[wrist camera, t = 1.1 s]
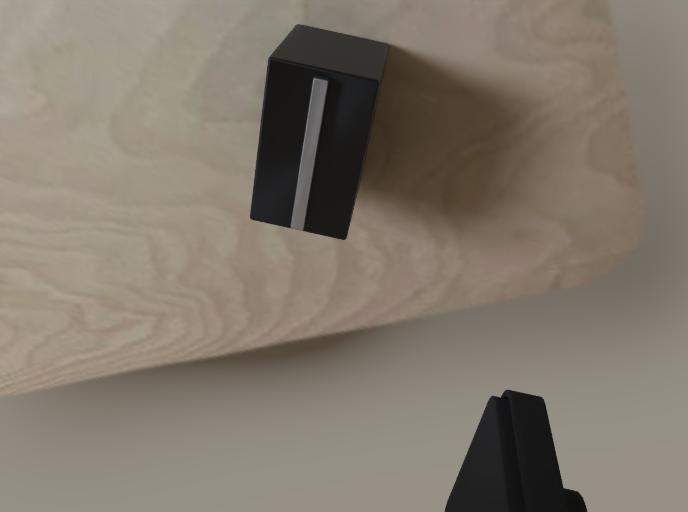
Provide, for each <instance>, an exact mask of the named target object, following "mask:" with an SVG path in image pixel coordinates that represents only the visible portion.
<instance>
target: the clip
mask: <svg viewBox="0 0 688 512" xmlns="http://www.w3.org/2000/svg"><path fill="white" fill-rule="evenodd" d="M388 50H389V45H388V44H387V43H382V42H377V41H373V40H368V39H364V38H359V37H354V36H350V35H345V34H340V33H336V32H331V31H327V30H322V29H317V28H313V27H308V26H304V25H299V24H298V25H296V26H295V27H294V28H293V30H292V31H291V32H290V33H289V34H288V36H287V37H286V38H285V39H284V40H283V41H282V43H281V44H280V45H279V46H278V47H277V49H276V50H275V51H274V52H273V53H272V55H271V56H270V57H269V59H268V66H267V75H266V83H265V92H264V100H263V109H262V118H261V126H260V135H259V144H258V152H257V161H256V169H255V178H254V187H253V195H252V204H251V213H250V219H252V220H256V221H260V222H265V223H269V224H274V225H278V226H283V227H288V228H292V229H297V230H301V231H306V232H310V233H315V234H319V235H324V236H328V237H333V238H337V239H342V240H345V239H346V238H347V234H348V230H349V226H350V222H351V218H352V214H353V210H354V206H355V202H356V198H357V193H358V189H359V185H360V181H361V176H362V171H363V167H364V162H365V157H366V153H367V148H368V143H369V139H370V134H371V129H372V125H373V120H374V115H375V111H376V106H377V101H378V96H379V92H380V87H381V82H382V78H383V73H384V68H385V64H386V59H387V54H388Z"/></svg>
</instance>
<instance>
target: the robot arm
mask: <svg viewBox="0 0 688 512" xmlns="http://www.w3.org/2000/svg"><path fill="white" fill-rule="evenodd" d="M445 512H587V508H586V505H585V502H584V500H583V497H582V496H581V495H580V494H579V492H577V491H574V490H569V489H565V488H563V484H562V479H561V475H560V470H559V465H558V461H557V456H556V452H555V447H554V442H553V438H552V433H551V428H550V424H549V419H548V415H547V410H546V405H545V402H544V399H543V398H542V397H539V396H534V395H530V394H525V393H520V392H516V391H511V390H505V391H504V393H503V394H502V396H501V398H500V397H496V396H491V398H490V399H489V401H488V403H487V406H486V408H485V410H484V413H483V416H482V418H481V420H480V423H479V425H478V428H477V430H476V433H475V435H474V438H473V440H472V442H471V445H470V448H469V450H468V452H467V455H466V457H465V460H464V462H463V465H462V467H461V469H460V472H459V474H458V477H457V480H456V482H455V484H454V487H453V489H452V492H451V494H450V496H449V499H448V501H447V505H446V508H445Z"/></svg>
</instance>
